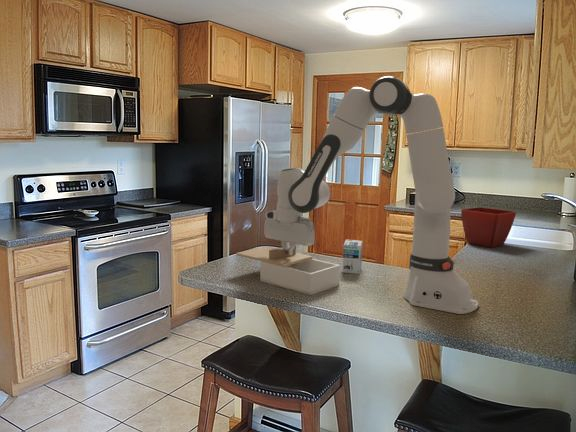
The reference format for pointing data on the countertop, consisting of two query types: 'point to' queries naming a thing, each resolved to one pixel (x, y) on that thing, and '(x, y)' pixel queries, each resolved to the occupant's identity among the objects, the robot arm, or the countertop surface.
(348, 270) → the light bulb box
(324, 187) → the robot arm
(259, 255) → the tan box lid
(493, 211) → the plant pot
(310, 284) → the base
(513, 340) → the countertop surface
